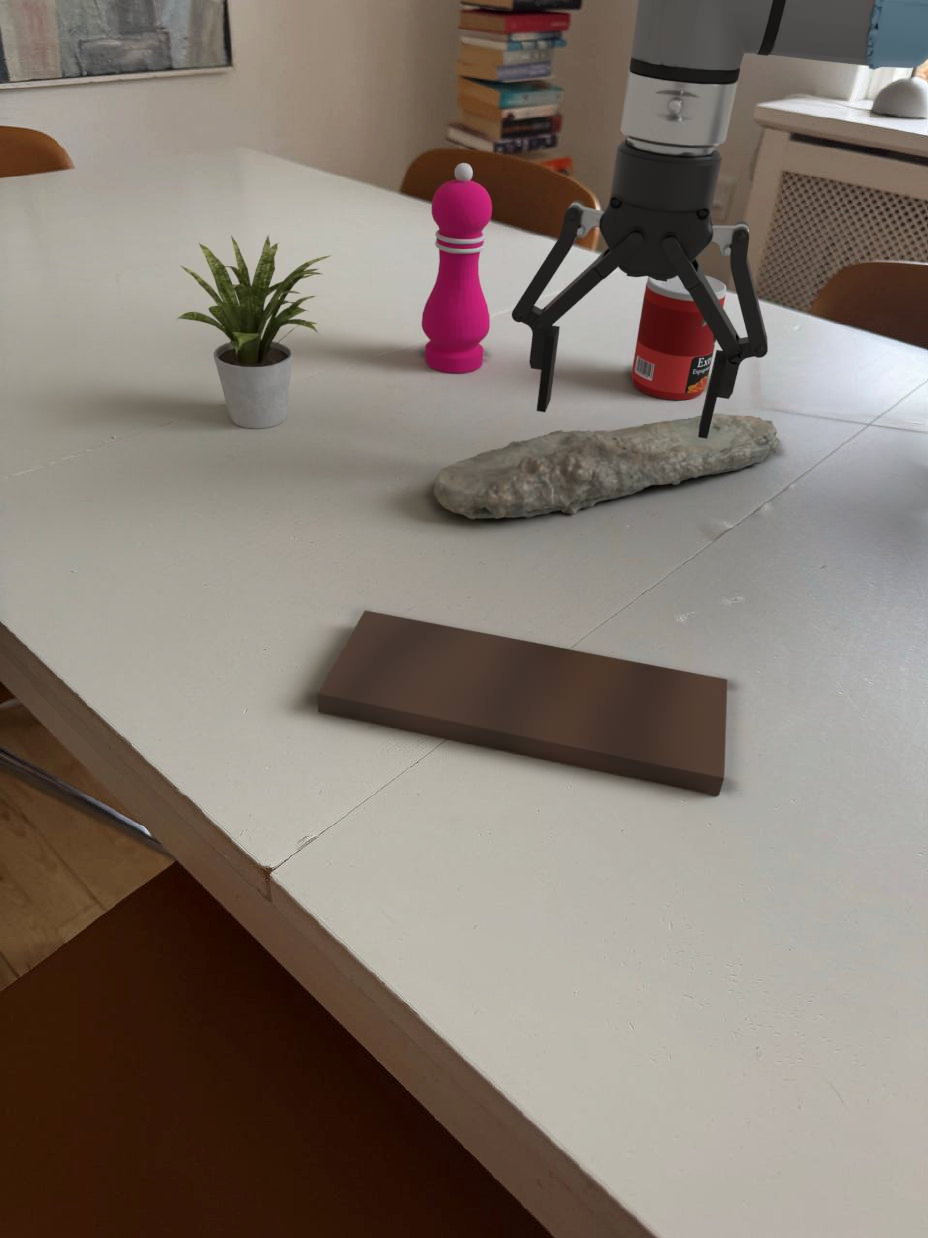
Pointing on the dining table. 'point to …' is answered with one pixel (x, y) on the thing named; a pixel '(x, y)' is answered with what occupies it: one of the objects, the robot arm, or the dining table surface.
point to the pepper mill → (458, 276)
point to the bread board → (533, 700)
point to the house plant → (253, 336)
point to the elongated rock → (598, 465)
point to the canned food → (673, 341)
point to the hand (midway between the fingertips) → (622, 418)
